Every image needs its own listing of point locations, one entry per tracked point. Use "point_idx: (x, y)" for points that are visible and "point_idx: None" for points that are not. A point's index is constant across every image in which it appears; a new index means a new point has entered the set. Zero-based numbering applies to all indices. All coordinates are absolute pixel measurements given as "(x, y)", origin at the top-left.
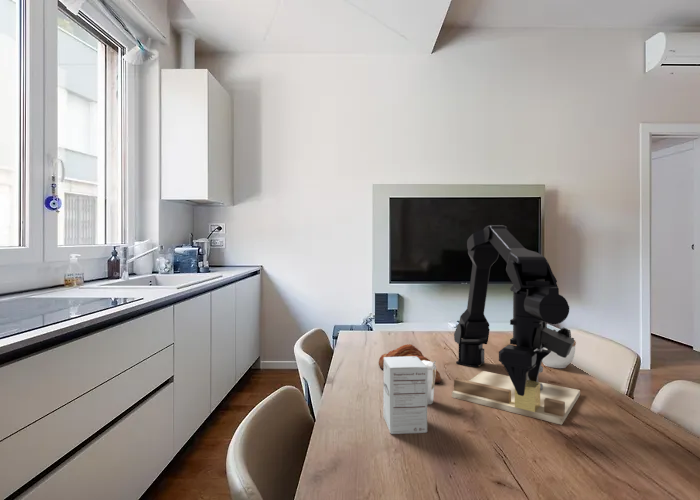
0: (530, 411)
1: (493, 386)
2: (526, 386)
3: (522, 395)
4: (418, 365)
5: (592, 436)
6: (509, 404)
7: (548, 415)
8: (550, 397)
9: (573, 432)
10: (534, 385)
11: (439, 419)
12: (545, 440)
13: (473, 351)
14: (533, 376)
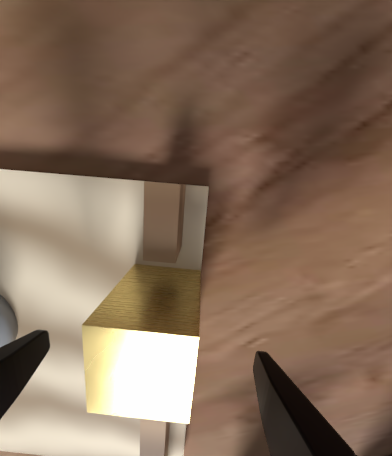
0: None
1: (143, 431)
2: (193, 372)
3: (265, 355)
4: None
5: (248, 86)
6: None
7: (204, 229)
8: (25, 245)
9: (248, 147)
10: (160, 344)
11: None
12: (349, 214)
13: None
14: (14, 372)
